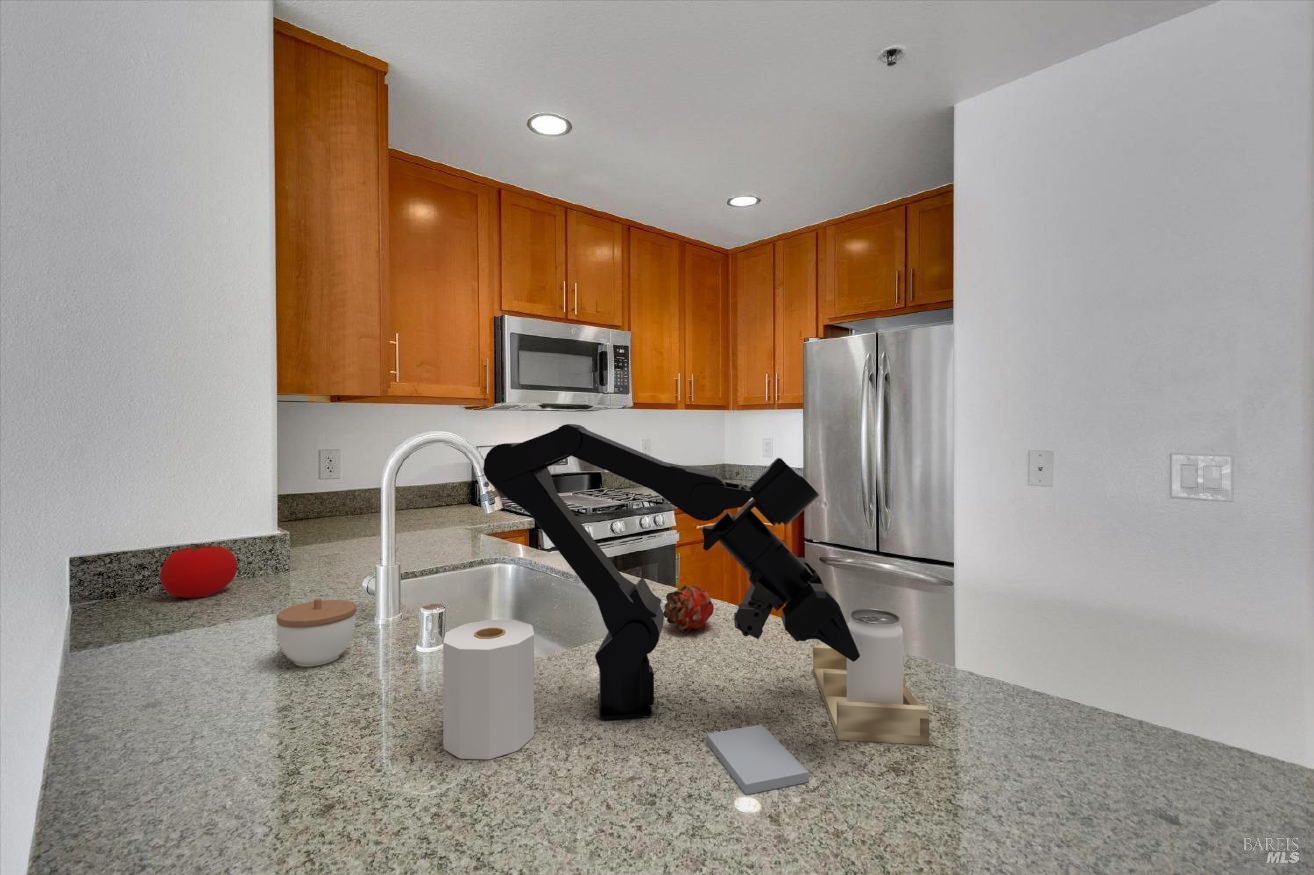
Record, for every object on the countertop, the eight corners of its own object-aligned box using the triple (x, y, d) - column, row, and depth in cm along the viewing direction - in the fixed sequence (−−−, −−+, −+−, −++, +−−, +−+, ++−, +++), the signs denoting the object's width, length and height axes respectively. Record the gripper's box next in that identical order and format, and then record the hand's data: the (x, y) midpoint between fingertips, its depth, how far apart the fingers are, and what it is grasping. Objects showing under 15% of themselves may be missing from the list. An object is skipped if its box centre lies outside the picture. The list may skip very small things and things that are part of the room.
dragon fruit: (670, 648, 99) (695, 636, 110) (710, 624, 97) (731, 614, 108) (646, 603, 102) (673, 596, 113) (684, 578, 100) (708, 573, 111)
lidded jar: (259, 666, 88) (259, 604, 87) (324, 642, 97) (324, 586, 97) (310, 678, 84) (309, 612, 83) (372, 652, 93) (371, 593, 93)
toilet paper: (535, 711, 74) (535, 616, 74) (532, 756, 63) (532, 645, 63) (451, 718, 72) (451, 620, 72) (434, 765, 62) (434, 651, 62)
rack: (838, 739, 67) (838, 705, 67) (812, 672, 86) (812, 645, 86) (929, 745, 66) (929, 709, 66) (883, 675, 85) (883, 648, 85)
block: (745, 794, 57) (745, 784, 57) (706, 742, 66) (706, 733, 66) (808, 781, 59) (808, 772, 59) (761, 733, 68) (761, 724, 68)
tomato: (145, 602, 120) (145, 549, 120) (204, 585, 133) (204, 537, 133) (194, 605, 118) (194, 551, 118) (249, 588, 131) (249, 539, 131)
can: (914, 724, 69) (914, 622, 68) (863, 728, 67) (863, 625, 67) (884, 699, 75) (884, 606, 75) (837, 703, 74) (837, 608, 74)
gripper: (713, 576, 83) (790, 658, 82) (711, 617, 64) (811, 724, 63) (770, 523, 82) (850, 605, 81) (785, 549, 63) (888, 656, 62)
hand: (848, 644), depth 72 cm, fingers open, 9 cm apart
